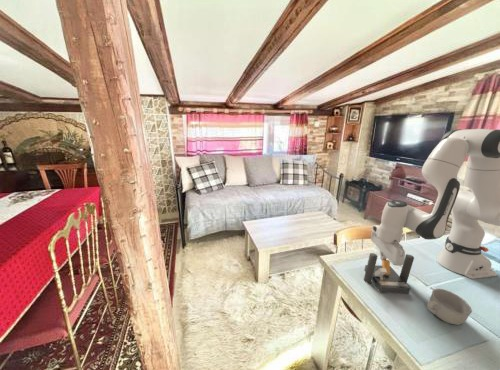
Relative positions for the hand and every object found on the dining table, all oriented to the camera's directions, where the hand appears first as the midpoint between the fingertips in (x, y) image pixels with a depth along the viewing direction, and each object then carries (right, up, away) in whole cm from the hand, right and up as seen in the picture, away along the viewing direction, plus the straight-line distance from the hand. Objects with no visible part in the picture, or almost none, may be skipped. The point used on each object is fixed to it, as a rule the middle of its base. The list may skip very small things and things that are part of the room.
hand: (382, 260), depth 95 cm
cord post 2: (+8, -9, -2) cm, 13 cm away
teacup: (+10, -15, -18) cm, 25 cm away
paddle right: (-4, -6, -2) cm, 8 cm away
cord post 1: (-8, -9, -1) cm, 12 cm away
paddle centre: (0, -6, -2) cm, 7 cm away
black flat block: (0, -9, -1) cm, 9 cm away
